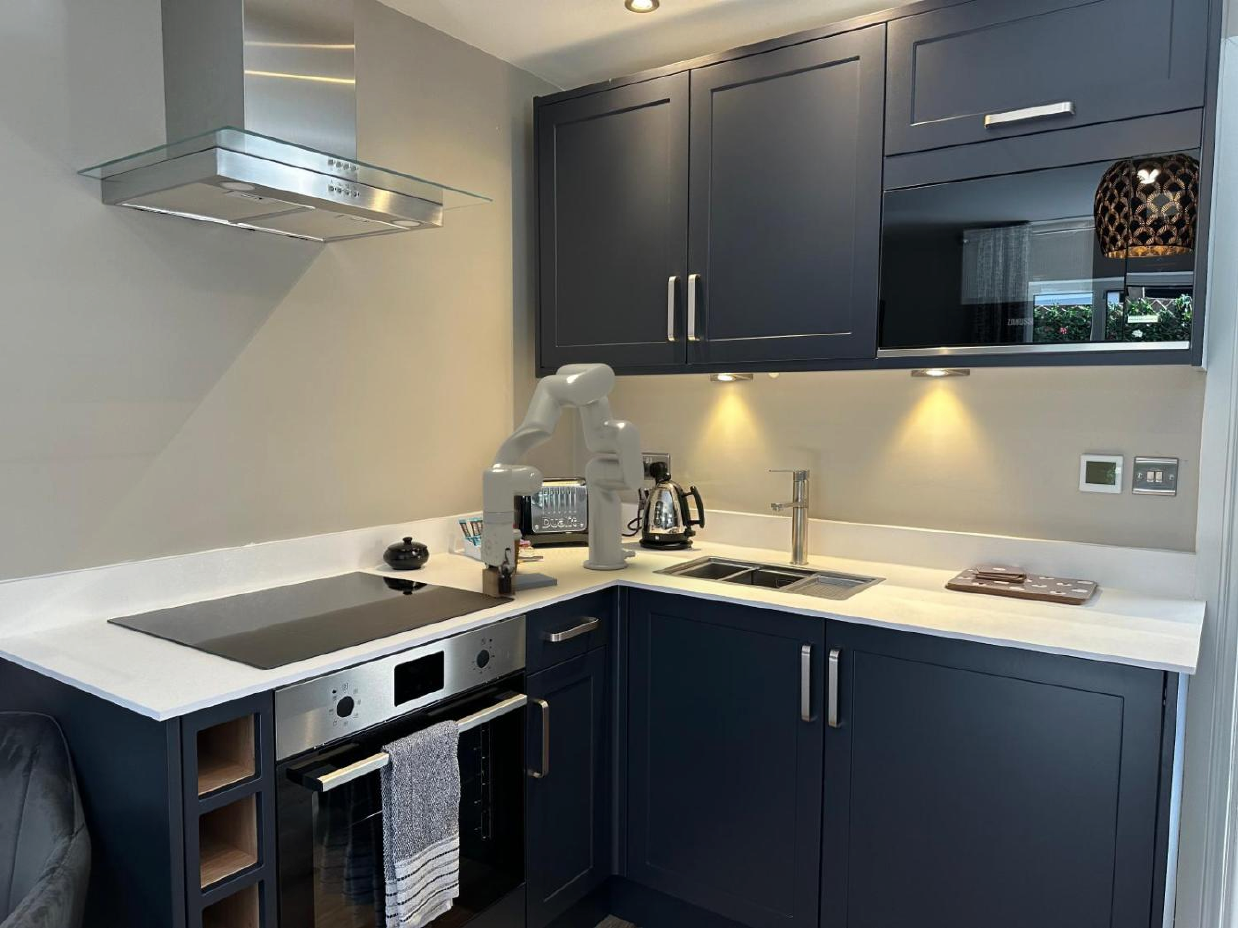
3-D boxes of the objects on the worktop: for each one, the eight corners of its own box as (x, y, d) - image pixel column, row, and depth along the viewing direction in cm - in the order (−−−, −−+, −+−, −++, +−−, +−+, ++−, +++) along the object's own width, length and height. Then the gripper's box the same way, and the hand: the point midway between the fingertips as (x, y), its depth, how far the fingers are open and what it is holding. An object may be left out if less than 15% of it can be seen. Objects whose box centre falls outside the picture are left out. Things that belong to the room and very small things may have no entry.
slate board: (538, 578, 224) (538, 572, 224) (557, 584, 216) (557, 579, 216) (497, 583, 217) (497, 577, 217) (515, 590, 209) (515, 584, 209)
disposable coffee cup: (480, 573, 230) (480, 530, 229) (509, 569, 236) (509, 527, 235) (499, 579, 223) (499, 534, 222) (529, 574, 229) (528, 531, 228)
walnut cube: (504, 590, 210) (504, 566, 209) (515, 594, 205) (515, 570, 204) (482, 593, 206) (482, 569, 206) (493, 597, 201) (493, 573, 201)
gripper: (469, 515, 209) (470, 586, 210) (500, 523, 195) (500, 599, 196) (496, 513, 213) (497, 583, 215) (528, 521, 199) (529, 595, 200)
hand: (498, 590), depth 205 cm, fingers closed on walnut cube, 6 cm apart
